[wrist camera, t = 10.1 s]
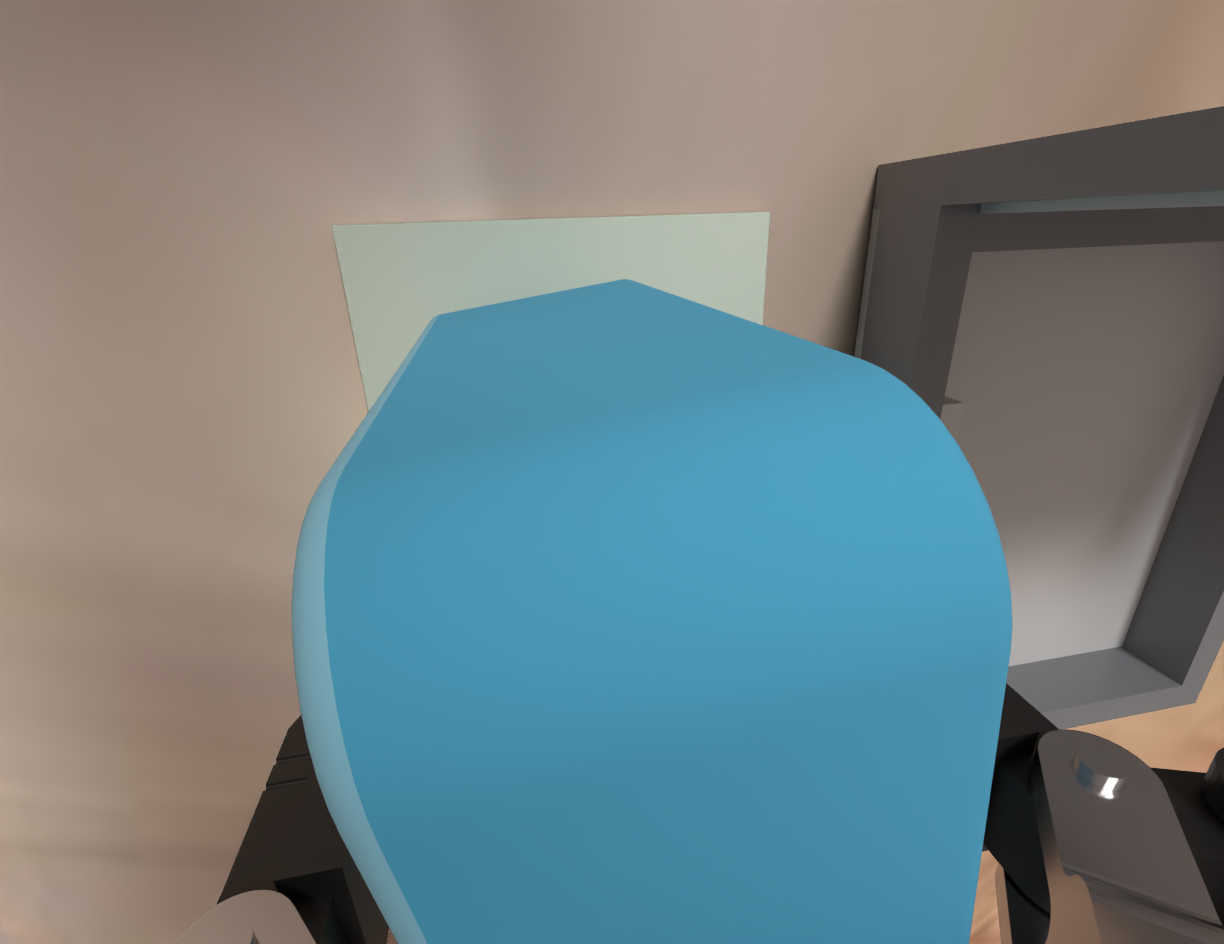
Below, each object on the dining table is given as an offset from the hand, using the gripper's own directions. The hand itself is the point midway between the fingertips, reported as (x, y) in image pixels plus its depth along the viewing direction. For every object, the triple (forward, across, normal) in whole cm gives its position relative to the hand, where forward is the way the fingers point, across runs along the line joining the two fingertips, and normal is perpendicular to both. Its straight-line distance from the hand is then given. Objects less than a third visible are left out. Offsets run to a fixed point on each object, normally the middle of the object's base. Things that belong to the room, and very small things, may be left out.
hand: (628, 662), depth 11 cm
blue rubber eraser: (+6, 0, 0) cm, 6 cm away
